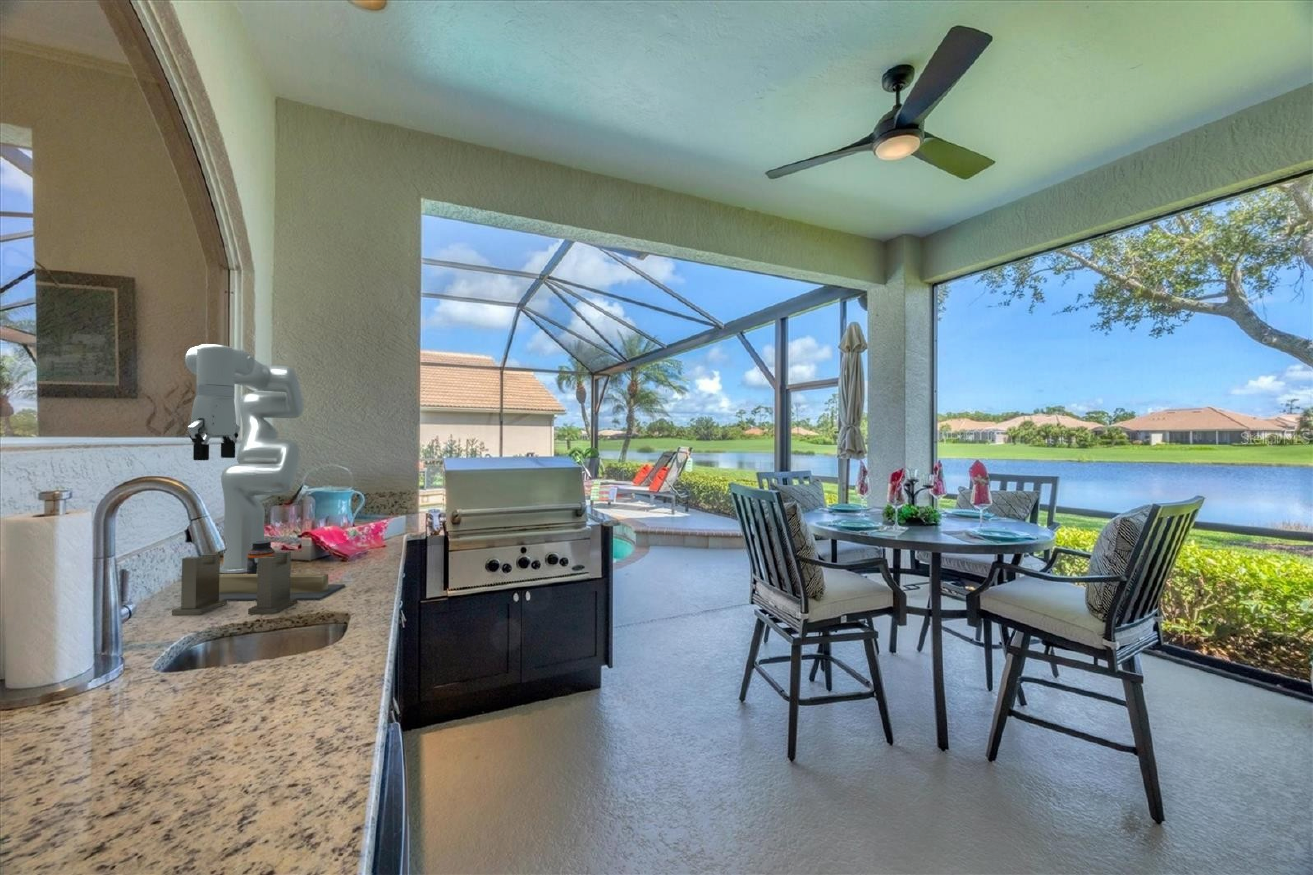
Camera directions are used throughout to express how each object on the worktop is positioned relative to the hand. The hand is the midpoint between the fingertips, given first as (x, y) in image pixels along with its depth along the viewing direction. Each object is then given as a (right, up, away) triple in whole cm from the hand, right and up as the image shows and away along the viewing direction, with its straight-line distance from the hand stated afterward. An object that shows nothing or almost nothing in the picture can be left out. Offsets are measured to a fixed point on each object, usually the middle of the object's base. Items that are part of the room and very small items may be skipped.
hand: (215, 458), depth 134 cm
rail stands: (+17, -34, -14) cm, 41 cm away
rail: (+16, -34, -2) cm, 38 cm away
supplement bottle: (+6, -34, +7) cm, 36 cm away
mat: (+16, -34, -2) cm, 38 cm away
